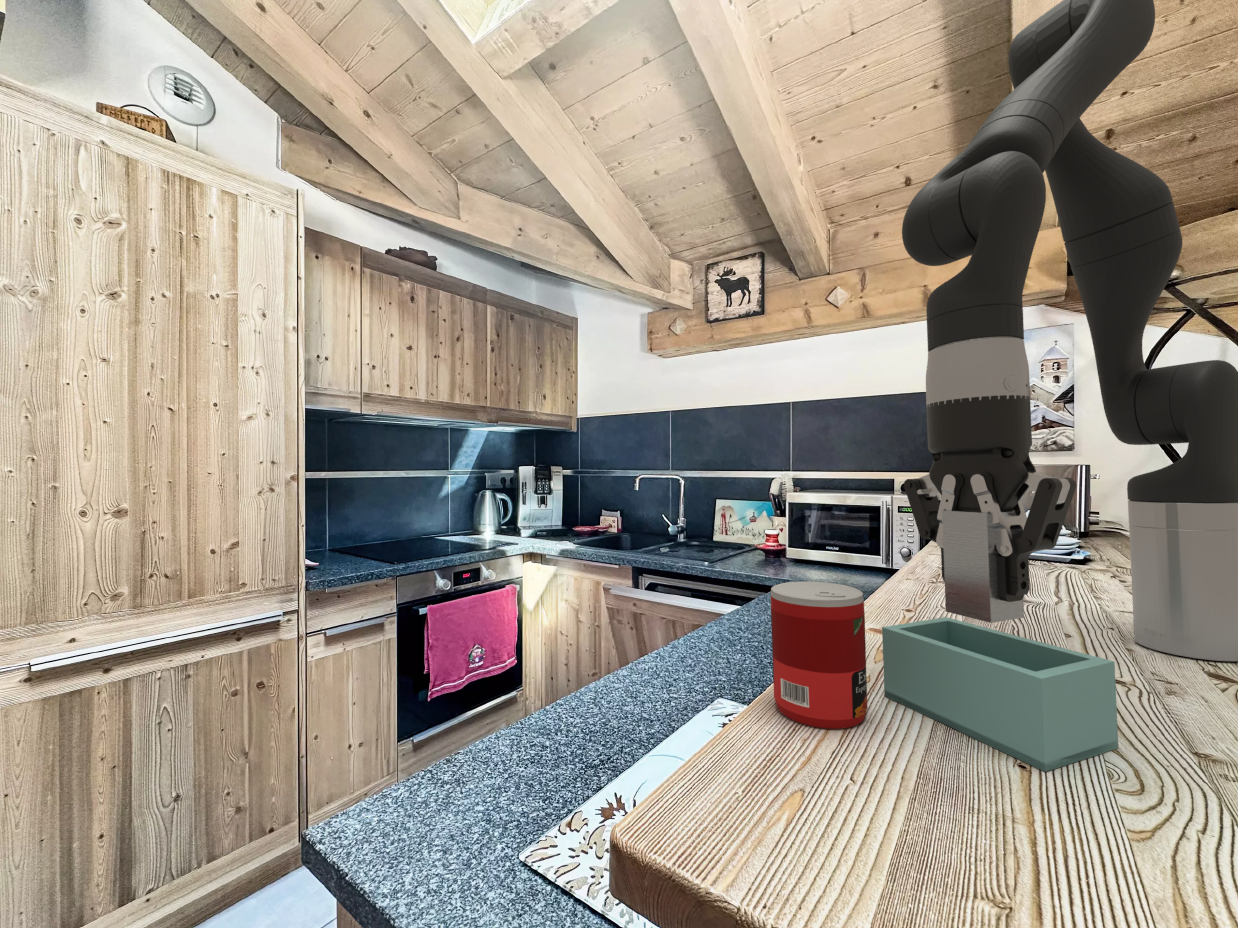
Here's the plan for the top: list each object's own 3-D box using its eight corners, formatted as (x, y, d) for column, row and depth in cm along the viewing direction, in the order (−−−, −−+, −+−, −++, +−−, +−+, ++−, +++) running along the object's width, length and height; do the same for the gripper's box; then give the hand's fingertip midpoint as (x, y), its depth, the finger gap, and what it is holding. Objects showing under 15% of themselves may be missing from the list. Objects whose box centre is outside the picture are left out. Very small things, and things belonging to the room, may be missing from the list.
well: (948, 682, 53) (945, 616, 53) (1118, 748, 40) (1114, 661, 40) (884, 695, 50) (882, 627, 51) (1045, 771, 37) (1041, 678, 37)
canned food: (878, 734, 43) (874, 600, 43) (778, 727, 45) (774, 598, 45) (856, 695, 51) (852, 581, 51) (770, 690, 52) (767, 580, 53)
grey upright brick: (977, 606, 48) (973, 508, 48) (1023, 617, 44) (1019, 511, 45) (945, 611, 47) (942, 510, 47) (990, 622, 43) (986, 513, 43)
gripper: (1100, 386, 41) (1109, 609, 40) (933, 409, 54) (939, 577, 54) (1035, 382, 38) (1045, 620, 38) (877, 407, 51) (883, 583, 51)
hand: (983, 593), depth 46 cm, fingers closed on grey upright brick, 4 cm apart
